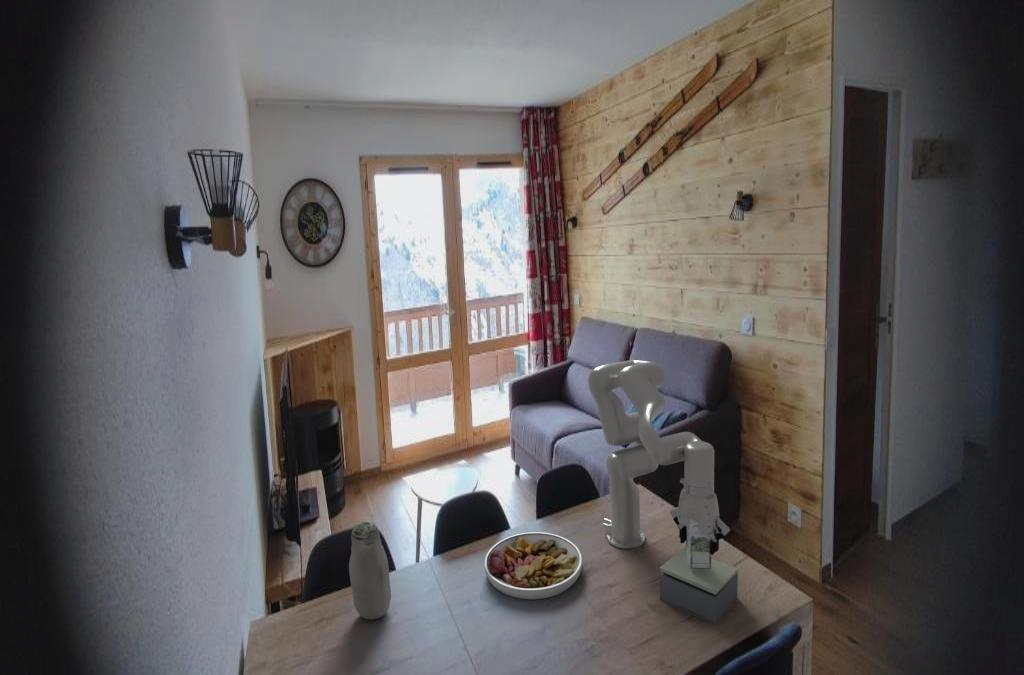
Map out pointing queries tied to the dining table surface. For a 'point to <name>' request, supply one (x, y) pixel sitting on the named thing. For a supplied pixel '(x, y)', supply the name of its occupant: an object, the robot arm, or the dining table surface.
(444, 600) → the dining table surface
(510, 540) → the bowl
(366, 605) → the grey rounded cylinder
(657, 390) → the robot arm
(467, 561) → the dining table surface
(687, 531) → the syrup box
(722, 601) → the storage box
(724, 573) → the lid
